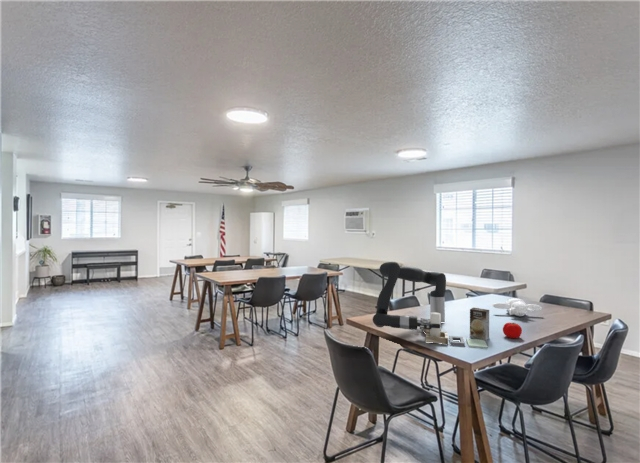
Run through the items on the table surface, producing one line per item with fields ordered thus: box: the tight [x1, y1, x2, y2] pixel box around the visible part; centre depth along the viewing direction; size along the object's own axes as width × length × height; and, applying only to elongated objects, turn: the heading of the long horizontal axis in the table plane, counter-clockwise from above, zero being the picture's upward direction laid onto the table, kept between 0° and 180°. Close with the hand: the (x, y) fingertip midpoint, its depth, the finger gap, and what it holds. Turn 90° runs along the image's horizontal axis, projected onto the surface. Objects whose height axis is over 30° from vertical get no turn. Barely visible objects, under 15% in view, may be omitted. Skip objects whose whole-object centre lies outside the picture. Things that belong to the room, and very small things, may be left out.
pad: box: [466, 338, 489, 349], centre depth 186 cm, size 12×9×1 cm
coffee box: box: [469, 307, 490, 341], centre depth 197 cm, size 9×6×16 cm
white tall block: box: [429, 312, 442, 337], centre depth 192 cm, size 6×6×15 cm
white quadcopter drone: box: [492, 297, 543, 317], centre depth 253 cm, size 24×30×11 cm
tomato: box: [502, 322, 523, 339], centre depth 198 cm, size 9×10×8 cm
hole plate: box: [448, 335, 466, 347], centre depth 189 cm, size 12×7×2 cm, turn 163°
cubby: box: [425, 331, 449, 345], centre depth 192 cm, size 12×11×4 cm
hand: (439, 324), depth 192 cm, fingers open, 6 cm apart
